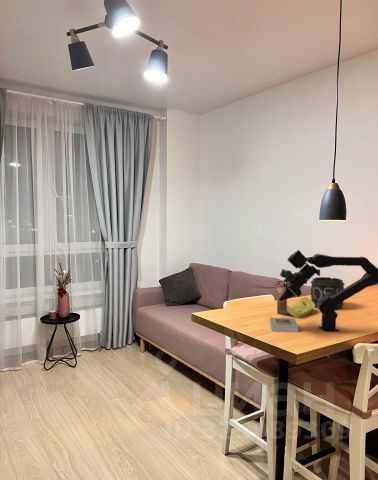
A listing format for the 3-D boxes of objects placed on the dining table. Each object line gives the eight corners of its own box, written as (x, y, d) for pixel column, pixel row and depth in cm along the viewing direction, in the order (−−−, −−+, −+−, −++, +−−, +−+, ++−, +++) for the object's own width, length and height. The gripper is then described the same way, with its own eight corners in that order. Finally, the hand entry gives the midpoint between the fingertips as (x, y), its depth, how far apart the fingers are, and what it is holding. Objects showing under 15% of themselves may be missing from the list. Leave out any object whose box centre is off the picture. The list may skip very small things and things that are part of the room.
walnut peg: (288, 314, 166) (288, 288, 165) (279, 315, 165) (279, 288, 164) (284, 311, 170) (284, 286, 170) (275, 312, 169) (275, 287, 169)
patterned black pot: (323, 311, 196) (324, 283, 195) (304, 304, 213) (304, 277, 213) (351, 309, 201) (352, 281, 200) (330, 302, 218) (331, 276, 217)
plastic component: (300, 314, 182) (283, 303, 188) (294, 326, 185) (278, 314, 191) (318, 305, 196) (302, 294, 201) (312, 315, 199) (297, 305, 205)
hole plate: (294, 324, 173) (294, 317, 173) (298, 332, 162) (298, 324, 161) (269, 323, 175) (269, 317, 174) (271, 330, 163) (271, 323, 163)
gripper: (288, 260, 175) (264, 283, 177) (293, 266, 157) (267, 291, 159) (304, 277, 174) (281, 299, 177) (312, 284, 156) (286, 309, 158)
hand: (278, 299), depth 168 cm, fingers closed on walnut peg, 4 cm apart
